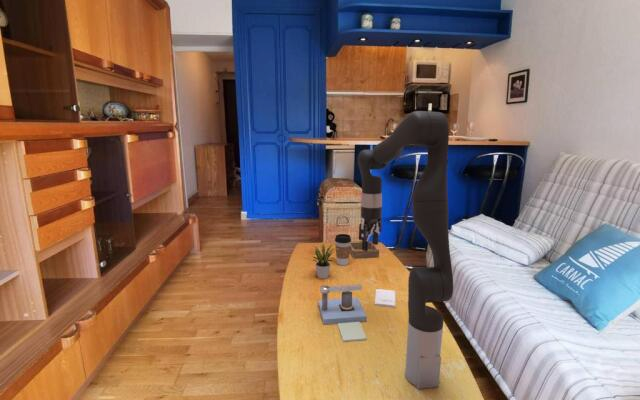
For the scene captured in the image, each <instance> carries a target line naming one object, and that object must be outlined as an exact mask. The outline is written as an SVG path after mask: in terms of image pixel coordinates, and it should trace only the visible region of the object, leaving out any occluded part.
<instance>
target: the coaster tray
mask: <svg viewBox="0 0 640 400" xmlns="http://www.w3.org/2000/svg"><path fill="white" fill-rule="evenodd" d="M349 255H351V257H352V259H354V260H355V259H357V260H358V259H373V258H374V259H375V258H376V259H377V258H380V250H379V248H378V247H377V245H374V244H372V241H368V251H363V250H362V241H361V242H360V241H357V242H350V253H349Z"/></svg>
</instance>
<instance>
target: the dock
mask: <svg viewBox="0 0 640 400" xmlns="http://www.w3.org/2000/svg"><path fill="white" fill-rule="evenodd" d="M328 294H329V293H327V294H323V293H321V298H322V299H319V300H318V303H317V305H318V308H319V309H318V310H319V312H320V316H321V320H322V324H323V325H335V324H338V323H350V322H360V323H361V322H367V317H368V315H367V314H366V311H365V310H364V308H363V306H362V303H361V302H360V300H359V298H358V297H352V305H353V308H352V311H342V312H341V304H342V298H331V299H329V298H328Z"/></svg>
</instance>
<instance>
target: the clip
mask: <svg viewBox="0 0 640 400" xmlns="http://www.w3.org/2000/svg"><path fill="white" fill-rule="evenodd" d="M343 291H351V292H354V291H363V286H362V284H361V283H359V284H358V283H357V284H343V285H341V284H339V285H327V284H324V285H321V286H320V287H319V292H320V293H321V294H322V293H323V294H327V293H328V294H329V293H338V292H341V293H342V292H343Z"/></svg>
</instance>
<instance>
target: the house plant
mask: <svg viewBox="0 0 640 400" xmlns="http://www.w3.org/2000/svg"><path fill="white" fill-rule="evenodd" d="M335 244H336V242H335V243H331V245H329V246H328V248H327V249H326V247H325V243H323V242H321V244H320V243H319V242H318V245H319V246H320V249H321V251H320V250H319V248H318V247H317V246H316V245H313V244H312V246H313V247H314V249H315V251H314V252H315V253H314V256H313V255H311V257H312V258H314V259H312V260H311V261H312V262H315V270H316V276H317V278H318V279H327V278H329V274H330V268H331V262H334V260H336V259H335V257H331V255H332V254H333V253H334V252H335V251H336V248H335V247H333V246H334V245H335ZM332 247H333V248H332ZM334 263H335V262H334Z"/></svg>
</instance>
